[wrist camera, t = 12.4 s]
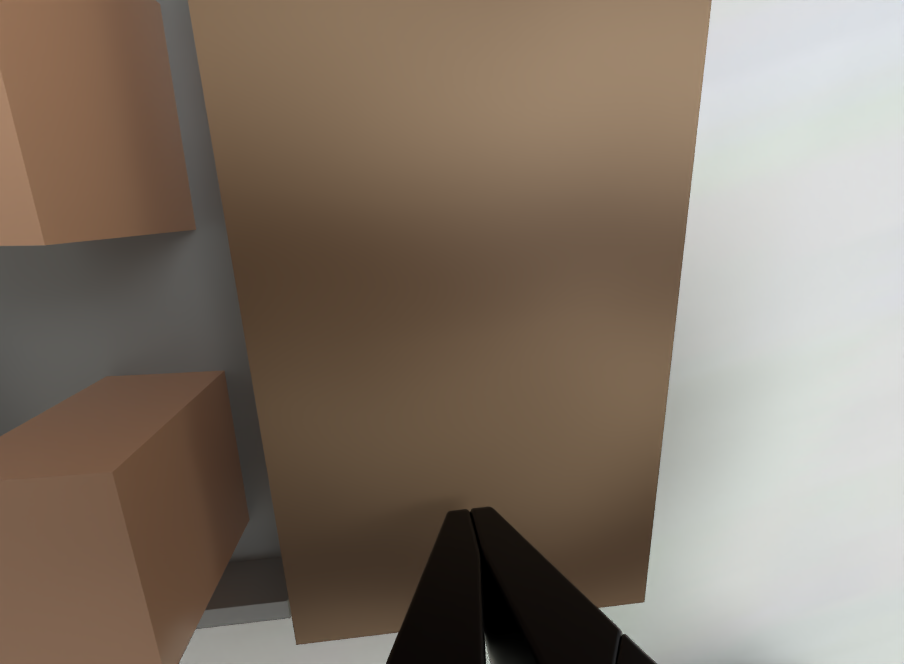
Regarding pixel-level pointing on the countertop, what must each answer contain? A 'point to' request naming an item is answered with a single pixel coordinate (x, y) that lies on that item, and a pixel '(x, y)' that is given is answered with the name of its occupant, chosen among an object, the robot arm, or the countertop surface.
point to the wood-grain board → (454, 275)
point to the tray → (149, 330)
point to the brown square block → (118, 520)
